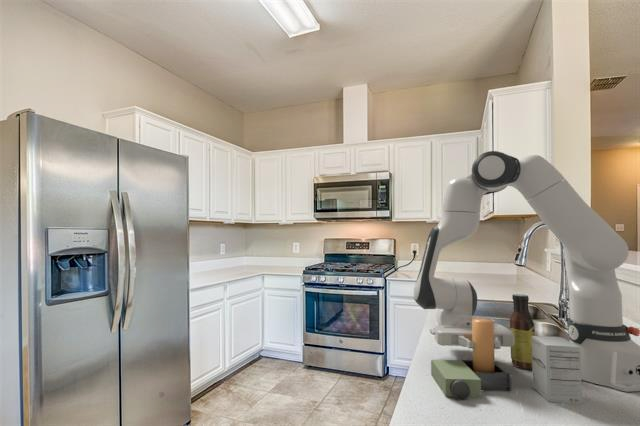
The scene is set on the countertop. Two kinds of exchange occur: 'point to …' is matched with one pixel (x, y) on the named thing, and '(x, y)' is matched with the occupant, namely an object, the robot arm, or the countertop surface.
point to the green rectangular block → (456, 379)
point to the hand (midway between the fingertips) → (484, 345)
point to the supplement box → (557, 369)
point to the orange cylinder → (483, 345)
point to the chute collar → (493, 378)
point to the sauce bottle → (521, 332)
